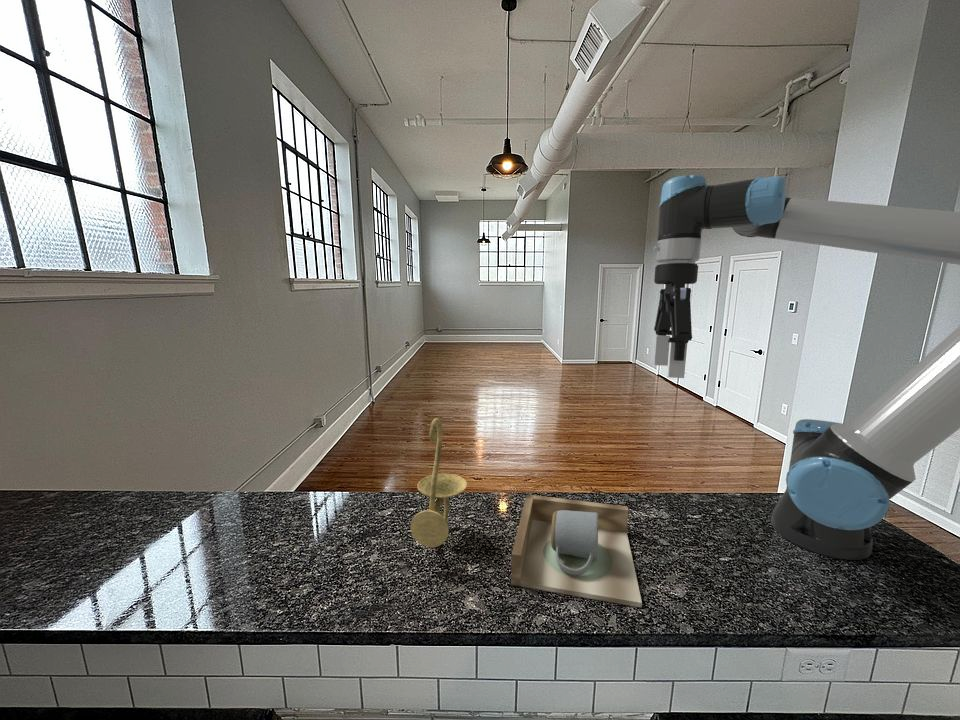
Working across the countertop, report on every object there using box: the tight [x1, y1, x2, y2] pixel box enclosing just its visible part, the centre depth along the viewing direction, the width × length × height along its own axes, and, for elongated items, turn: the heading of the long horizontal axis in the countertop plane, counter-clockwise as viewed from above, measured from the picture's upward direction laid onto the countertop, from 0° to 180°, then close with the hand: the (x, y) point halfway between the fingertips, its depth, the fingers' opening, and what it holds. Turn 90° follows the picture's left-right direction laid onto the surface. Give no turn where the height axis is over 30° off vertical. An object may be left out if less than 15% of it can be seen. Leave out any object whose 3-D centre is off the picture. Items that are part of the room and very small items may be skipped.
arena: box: [510, 493, 643, 608], centre depth 71 cm, size 20×20×6 cm
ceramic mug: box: [551, 510, 598, 576], centre depth 69 cm, size 11×8×8 cm
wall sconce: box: [410, 417, 468, 548], centre depth 74 cm, size 14×10×25 cm
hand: (667, 371), depth 80 cm, fingers open, 13 cm apart
